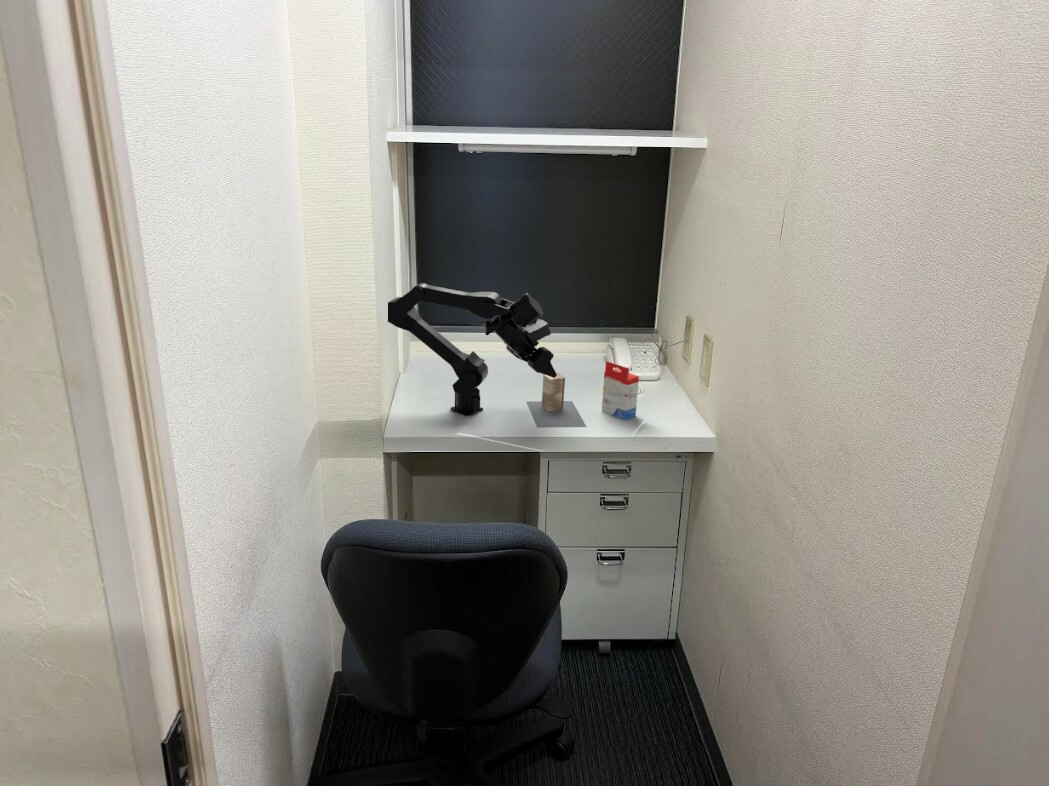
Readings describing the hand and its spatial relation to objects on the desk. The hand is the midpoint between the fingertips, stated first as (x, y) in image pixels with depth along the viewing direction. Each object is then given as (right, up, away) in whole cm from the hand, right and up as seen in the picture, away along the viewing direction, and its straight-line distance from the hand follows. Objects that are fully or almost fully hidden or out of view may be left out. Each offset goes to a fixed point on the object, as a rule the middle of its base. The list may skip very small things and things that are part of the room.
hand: (548, 371), depth 212 cm
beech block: (+1, -10, +4) cm, 11 cm away
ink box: (+19, -12, +3) cm, 23 cm away
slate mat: (+2, -12, 0) cm, 12 cm away
